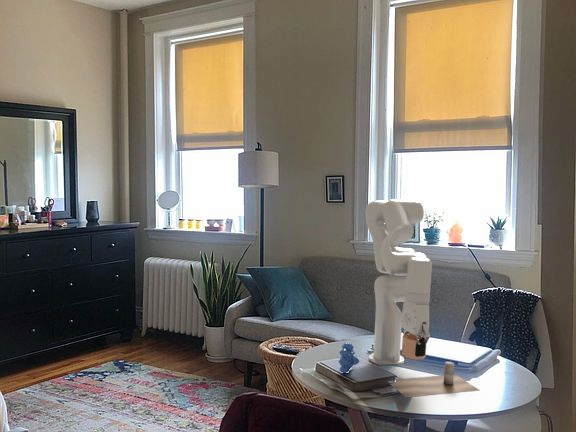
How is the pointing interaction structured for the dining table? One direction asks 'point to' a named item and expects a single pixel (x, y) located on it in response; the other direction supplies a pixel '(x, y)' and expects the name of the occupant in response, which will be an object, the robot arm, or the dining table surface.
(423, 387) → the stand
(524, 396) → the dining table surface
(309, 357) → the dining table surface
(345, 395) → the dining table surface
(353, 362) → the grapes
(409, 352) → the collar
